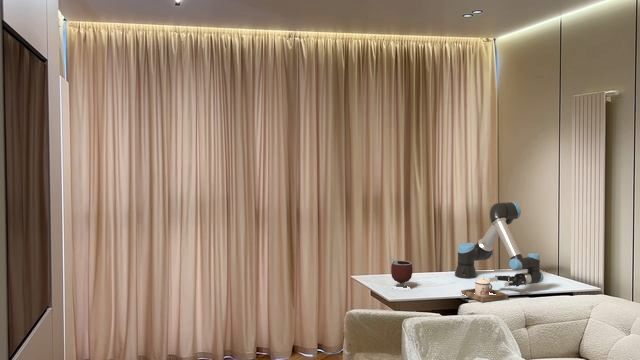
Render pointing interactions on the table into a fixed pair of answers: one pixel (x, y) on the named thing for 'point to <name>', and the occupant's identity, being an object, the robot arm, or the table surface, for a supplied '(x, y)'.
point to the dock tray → (489, 298)
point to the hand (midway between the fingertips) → (496, 282)
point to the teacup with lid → (482, 287)
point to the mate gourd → (401, 271)
